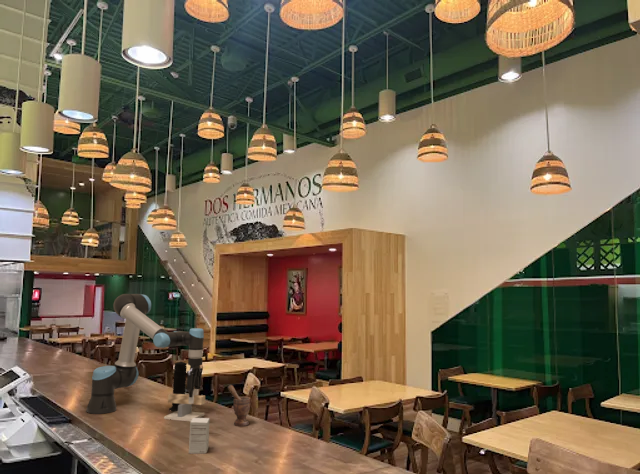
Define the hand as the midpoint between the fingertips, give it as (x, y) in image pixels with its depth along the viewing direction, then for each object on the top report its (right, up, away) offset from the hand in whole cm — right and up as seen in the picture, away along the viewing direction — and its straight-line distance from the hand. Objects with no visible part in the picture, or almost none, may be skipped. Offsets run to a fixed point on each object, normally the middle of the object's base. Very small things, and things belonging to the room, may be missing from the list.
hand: (193, 402), depth 264 cm
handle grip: (-13, -10, +17) cm, 24 cm away
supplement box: (+16, -2, -56) cm, 58 cm away
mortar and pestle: (+26, -7, -13) cm, 30 cm away
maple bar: (-4, -1, +1) cm, 4 cm away
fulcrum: (-5, -8, 0) cm, 9 cm away
